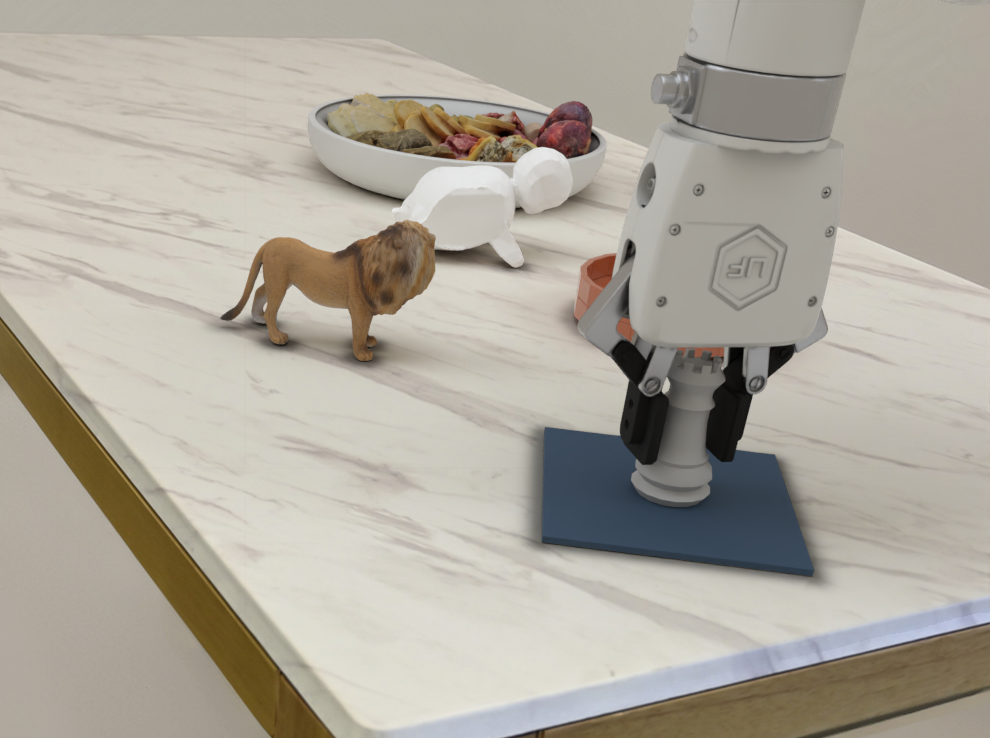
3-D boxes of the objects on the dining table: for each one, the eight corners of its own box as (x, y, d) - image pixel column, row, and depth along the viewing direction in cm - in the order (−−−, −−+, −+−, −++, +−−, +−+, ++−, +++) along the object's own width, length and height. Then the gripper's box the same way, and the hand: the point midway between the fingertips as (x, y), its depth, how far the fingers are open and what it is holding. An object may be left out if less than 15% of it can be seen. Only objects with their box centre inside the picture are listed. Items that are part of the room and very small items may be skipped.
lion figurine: (432, 343, 89) (445, 215, 84) (419, 371, 85) (433, 237, 80) (230, 314, 91) (232, 187, 86) (208, 340, 86) (208, 206, 81)
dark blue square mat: (773, 460, 77) (775, 454, 77) (812, 576, 65) (814, 569, 65) (544, 432, 78) (545, 426, 78) (541, 542, 66) (542, 536, 66)
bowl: (333, 215, 114) (338, 124, 110) (286, 136, 139) (289, 59, 134) (643, 222, 121) (659, 136, 116) (545, 145, 145) (555, 72, 141)
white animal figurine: (425, 301, 106) (596, 240, 105) (396, 204, 101) (574, 139, 100) (408, 268, 113) (568, 210, 112) (380, 176, 108) (547, 115, 107)
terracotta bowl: (746, 307, 101) (757, 263, 99) (771, 372, 89) (784, 323, 88) (572, 288, 102) (579, 243, 100) (573, 349, 90) (582, 300, 88)
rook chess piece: (624, 470, 73) (650, 338, 69) (700, 476, 73) (731, 345, 69) (634, 506, 69) (663, 369, 65) (715, 513, 69) (749, 376, 65)
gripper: (622, 115, 55) (557, 490, 65) (953, 127, 59) (845, 478, 69) (563, 81, 61) (512, 428, 71) (866, 93, 65) (779, 421, 75)
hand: (677, 449), depth 70 cm, fingers open, 3 cm apart
